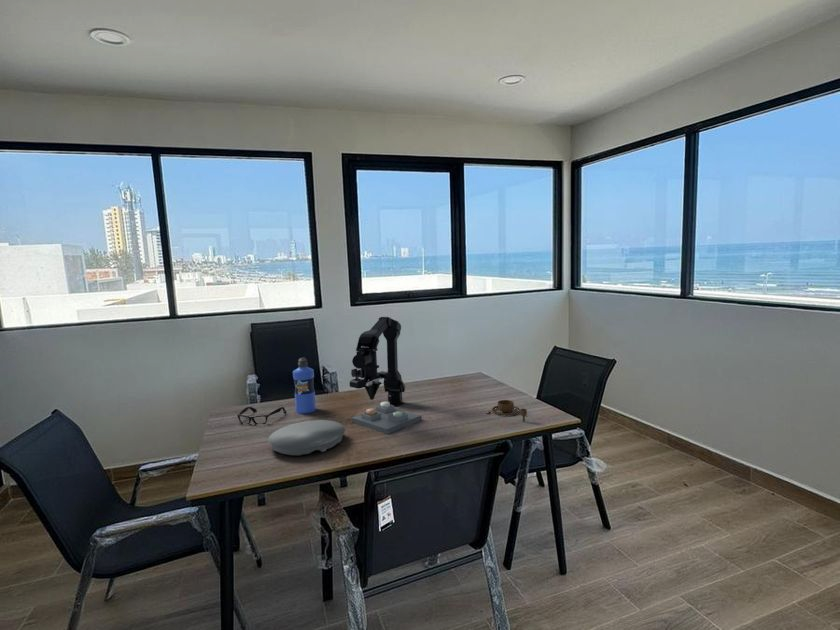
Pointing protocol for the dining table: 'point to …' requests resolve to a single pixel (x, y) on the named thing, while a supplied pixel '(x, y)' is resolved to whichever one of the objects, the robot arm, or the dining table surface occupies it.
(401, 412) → the sage button
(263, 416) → the glasses
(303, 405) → the water bottle
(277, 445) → the grey low domed part
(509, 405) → the place setting
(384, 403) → the ivory button
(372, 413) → the terracotta button
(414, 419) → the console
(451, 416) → the dining table surface
